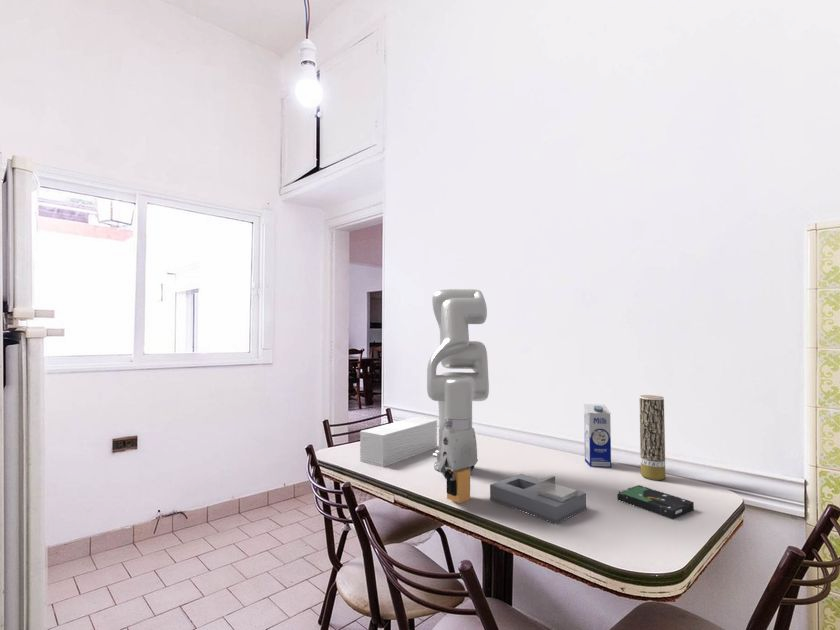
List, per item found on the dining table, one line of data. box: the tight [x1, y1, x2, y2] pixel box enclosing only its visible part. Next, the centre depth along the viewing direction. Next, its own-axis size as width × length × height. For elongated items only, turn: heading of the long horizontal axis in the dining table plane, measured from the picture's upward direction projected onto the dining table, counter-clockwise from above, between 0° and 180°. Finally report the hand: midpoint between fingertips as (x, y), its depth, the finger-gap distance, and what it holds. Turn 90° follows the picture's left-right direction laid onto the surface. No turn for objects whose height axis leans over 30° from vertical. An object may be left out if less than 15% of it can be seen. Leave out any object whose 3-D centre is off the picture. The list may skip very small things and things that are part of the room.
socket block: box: [489, 473, 587, 524], centre depth 115 cm, size 20×14×4 cm
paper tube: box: [639, 394, 666, 481], centre depth 137 cm, size 7×7×25 cm
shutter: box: [537, 475, 578, 502], centre depth 111 cm, size 7×7×3 cm
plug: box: [446, 468, 471, 504], centre depth 119 cm, size 4×4×8 cm
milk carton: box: [583, 403, 612, 468], centre depth 151 cm, size 7×7×20 cm
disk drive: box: [616, 484, 695, 520], centre depth 115 cm, size 10×3×15 cm
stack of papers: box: [359, 416, 438, 468], centre depth 163 cm, size 32×11×11 cm, turn 143°
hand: (458, 491), depth 119 cm, fingers open, 4 cm apart
